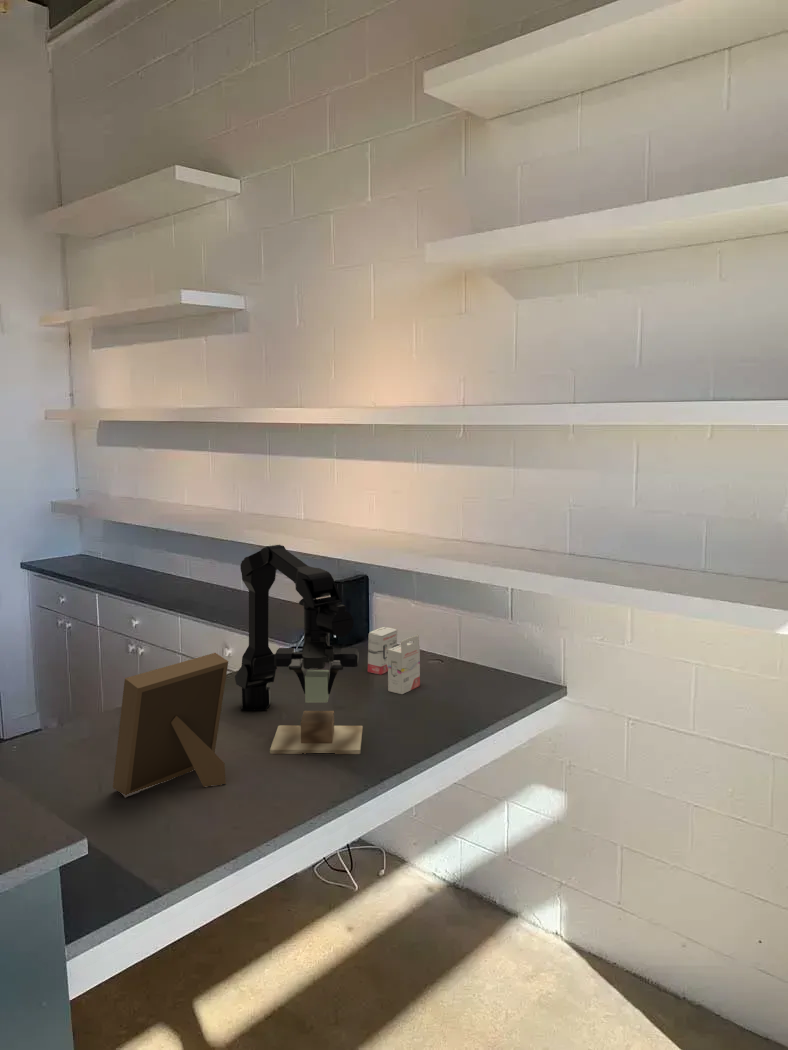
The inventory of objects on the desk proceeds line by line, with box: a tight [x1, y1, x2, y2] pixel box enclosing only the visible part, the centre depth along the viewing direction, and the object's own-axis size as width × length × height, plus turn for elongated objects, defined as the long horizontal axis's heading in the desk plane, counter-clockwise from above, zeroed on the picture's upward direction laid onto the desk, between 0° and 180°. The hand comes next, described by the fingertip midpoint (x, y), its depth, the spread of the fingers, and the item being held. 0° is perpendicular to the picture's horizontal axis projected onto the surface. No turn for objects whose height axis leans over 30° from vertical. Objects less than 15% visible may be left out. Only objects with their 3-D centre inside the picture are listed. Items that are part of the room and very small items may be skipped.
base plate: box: [269, 710, 364, 755], centre depth 195 cm, size 20×14×6 cm
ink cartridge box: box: [387, 634, 421, 695], centre depth 229 cm, size 9×5×15 cm, turn 143°
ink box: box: [367, 626, 398, 676], centre depth 246 cm, size 9×5×12 cm, turn 147°
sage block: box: [304, 669, 330, 704], centre depth 193 cm, size 5×5×6 cm
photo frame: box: [112, 652, 229, 795], centre depth 171 cm, size 15×22×25 cm
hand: (317, 693), depth 193 cm, fingers closed on sage block, 5 cm apart
